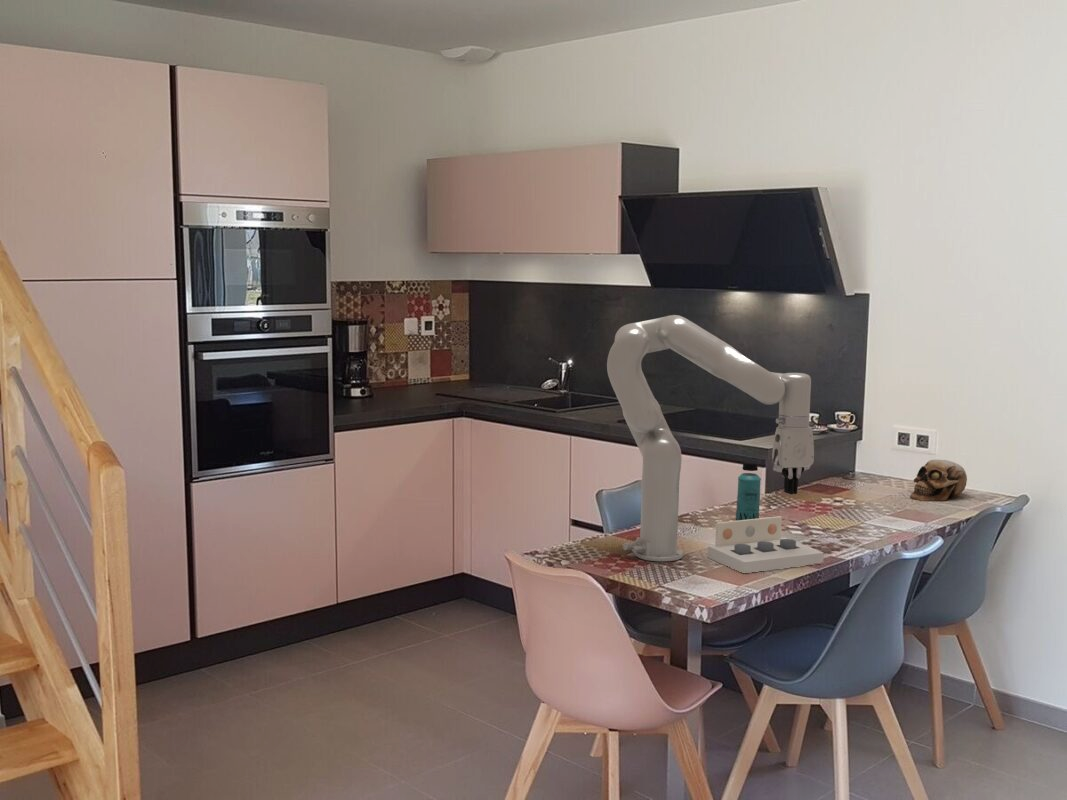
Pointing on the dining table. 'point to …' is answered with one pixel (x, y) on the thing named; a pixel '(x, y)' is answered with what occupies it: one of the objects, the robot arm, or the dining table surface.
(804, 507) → the dining table surface
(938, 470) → the brown skull
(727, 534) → the button panel
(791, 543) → the button right
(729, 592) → the dining table surface
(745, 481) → the beverage bottle
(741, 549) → the button left
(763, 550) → the button middle
